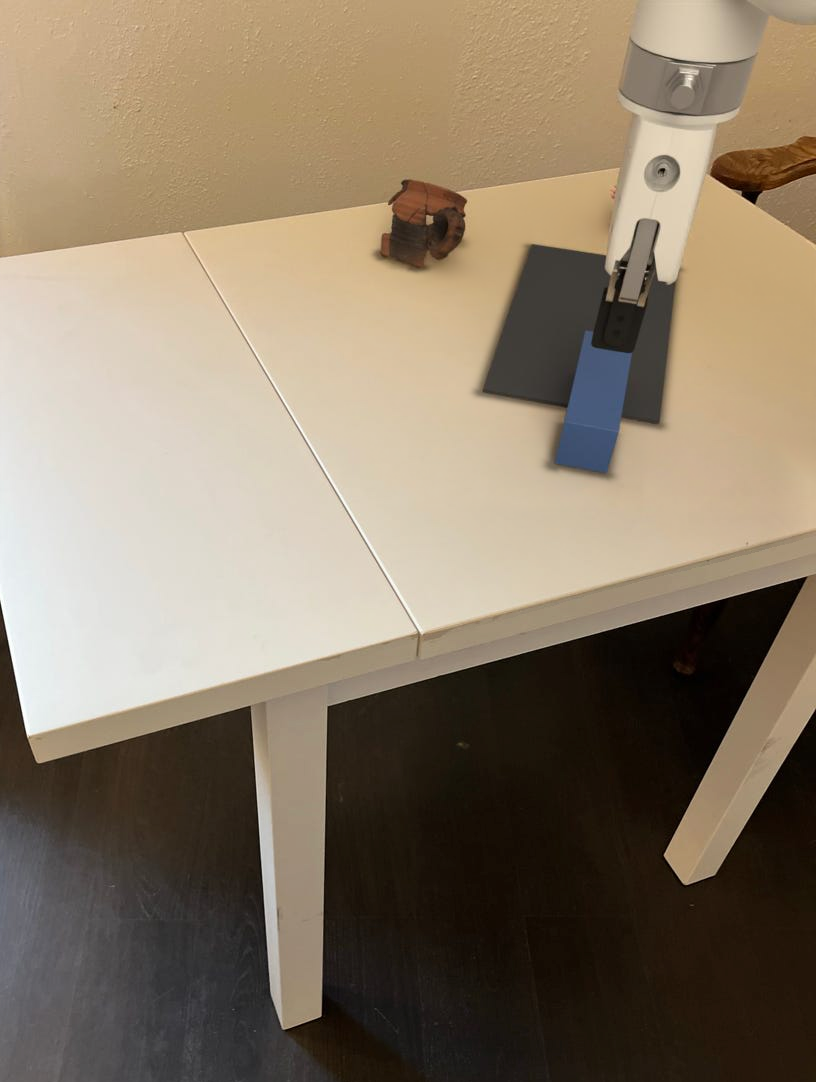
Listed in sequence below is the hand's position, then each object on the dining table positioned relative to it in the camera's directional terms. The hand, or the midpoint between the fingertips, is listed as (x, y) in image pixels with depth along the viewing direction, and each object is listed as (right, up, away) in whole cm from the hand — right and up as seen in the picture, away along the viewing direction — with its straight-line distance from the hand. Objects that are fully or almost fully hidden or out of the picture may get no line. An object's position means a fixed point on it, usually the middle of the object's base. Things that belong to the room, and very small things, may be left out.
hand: (612, 344), depth 72 cm
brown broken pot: (-11, +21, +34) cm, 41 cm away
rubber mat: (+5, +9, +24) cm, 26 cm away
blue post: (0, -6, +7) cm, 9 cm away
